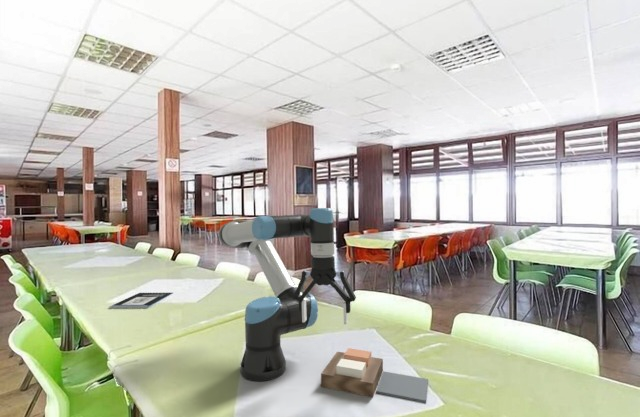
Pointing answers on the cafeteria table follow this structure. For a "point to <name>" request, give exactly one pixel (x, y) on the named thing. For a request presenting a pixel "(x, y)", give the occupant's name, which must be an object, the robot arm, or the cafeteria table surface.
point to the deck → (352, 383)
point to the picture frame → (141, 300)
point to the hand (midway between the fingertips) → (324, 322)
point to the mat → (403, 386)
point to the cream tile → (351, 368)
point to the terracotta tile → (358, 355)
